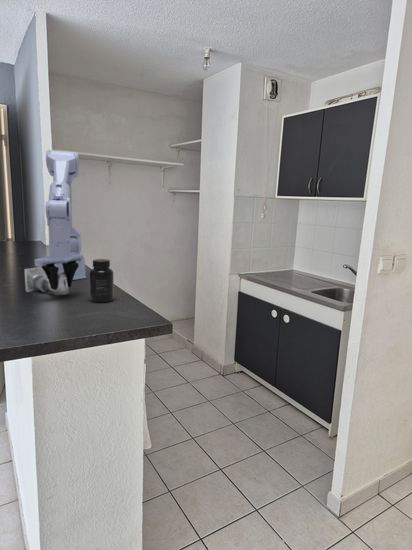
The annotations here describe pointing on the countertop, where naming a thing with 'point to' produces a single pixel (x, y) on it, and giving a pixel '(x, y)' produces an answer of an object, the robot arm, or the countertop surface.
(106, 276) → the supplement bottle
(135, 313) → the countertop surface
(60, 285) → the elbow
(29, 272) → the duct stub
